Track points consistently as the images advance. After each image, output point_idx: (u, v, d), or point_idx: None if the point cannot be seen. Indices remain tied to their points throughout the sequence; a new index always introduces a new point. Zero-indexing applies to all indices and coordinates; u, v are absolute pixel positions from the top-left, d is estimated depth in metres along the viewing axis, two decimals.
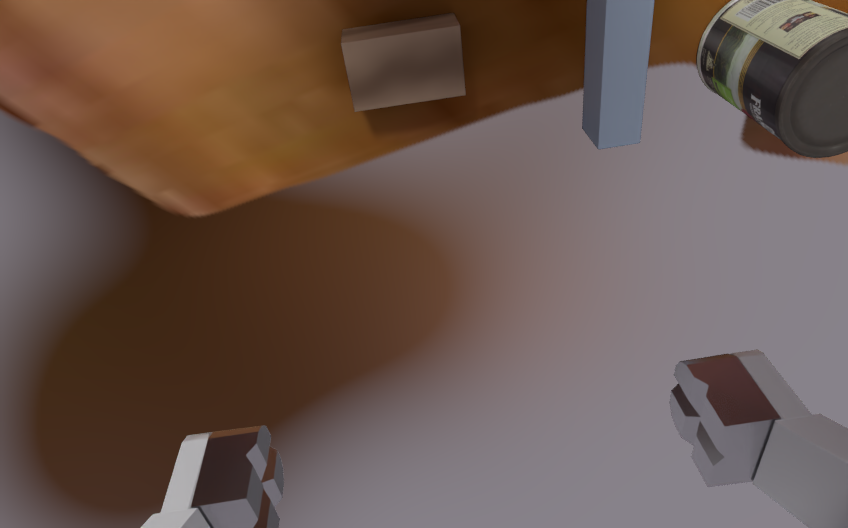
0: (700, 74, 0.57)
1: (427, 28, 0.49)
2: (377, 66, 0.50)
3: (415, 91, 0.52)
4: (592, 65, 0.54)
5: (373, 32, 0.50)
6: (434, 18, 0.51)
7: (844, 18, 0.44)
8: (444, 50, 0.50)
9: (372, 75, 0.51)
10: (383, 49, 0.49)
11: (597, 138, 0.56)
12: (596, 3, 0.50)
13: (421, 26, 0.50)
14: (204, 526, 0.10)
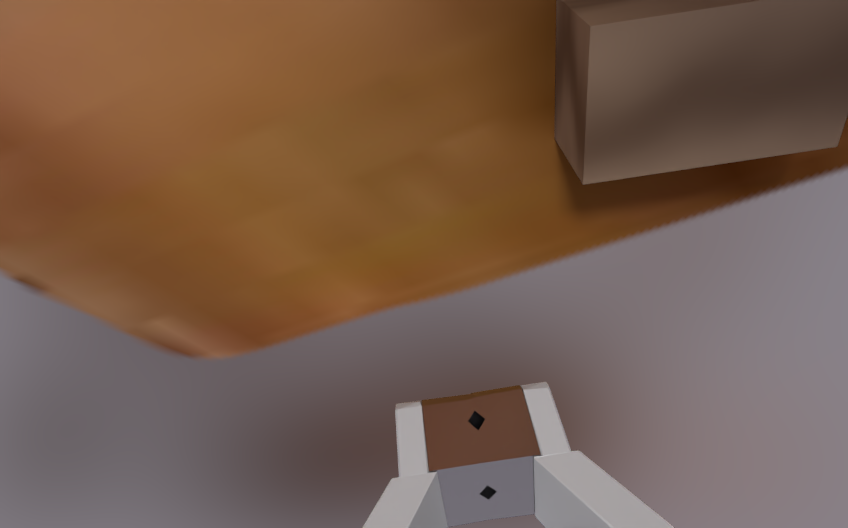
0: None
1: None
2: (662, 81, 0.21)
3: (729, 139, 0.22)
4: None
5: (652, 0, 0.21)
6: None
7: None
8: (830, 43, 0.20)
9: (643, 103, 0.21)
10: (689, 41, 0.20)
11: None
12: None
13: None
14: (439, 491, 0.10)
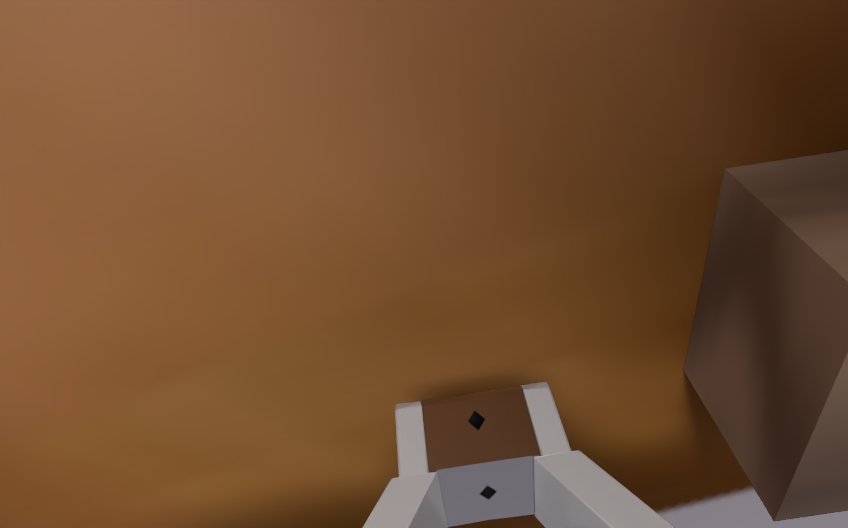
0: None
1: None
2: None
3: None
4: None
5: None
6: None
7: None
8: None
9: None
10: None
11: None
12: None
13: None
14: (438, 491, 0.10)
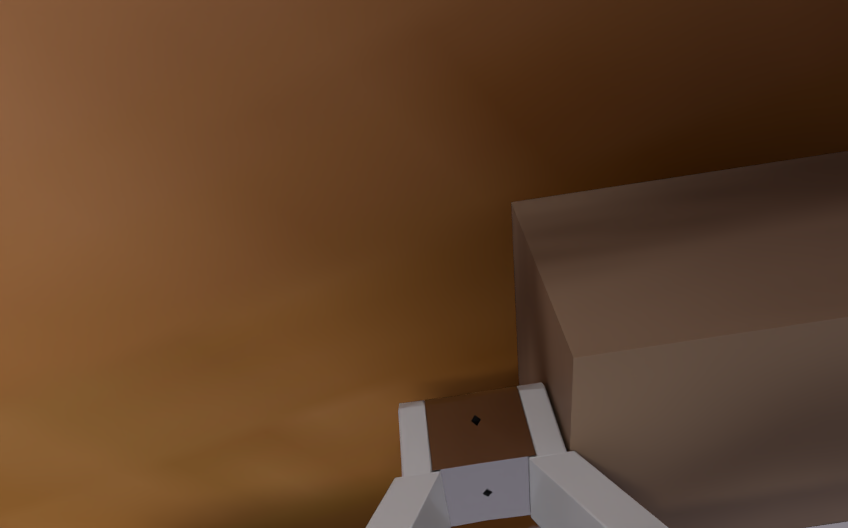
0: None
1: None
2: (729, 430, 0.10)
3: None
4: None
5: (706, 257, 0.10)
6: None
7: None
8: None
9: (688, 461, 0.10)
10: (792, 370, 0.09)
11: None
12: None
13: None
14: (442, 490, 0.10)
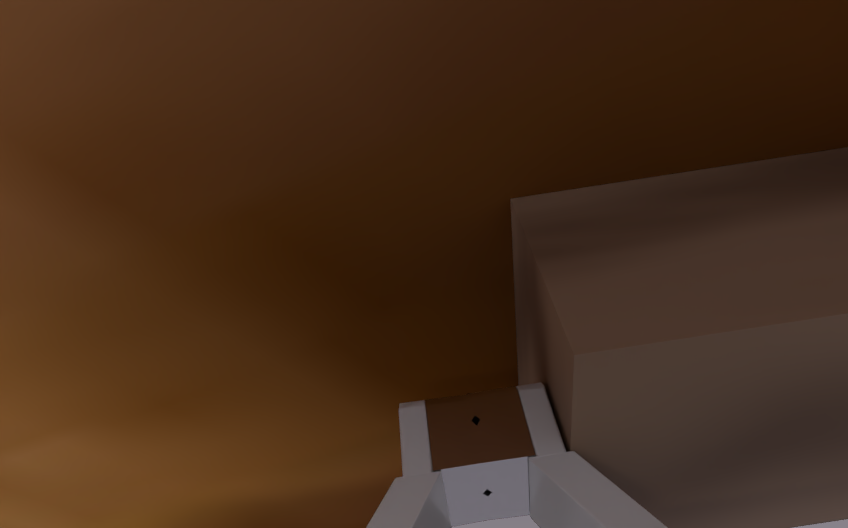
0: None
1: None
2: (729, 427, 0.10)
3: None
4: None
5: (706, 253, 0.10)
6: None
7: None
8: None
9: (688, 458, 0.10)
10: (794, 366, 0.09)
11: None
12: None
13: None
14: (442, 490, 0.10)
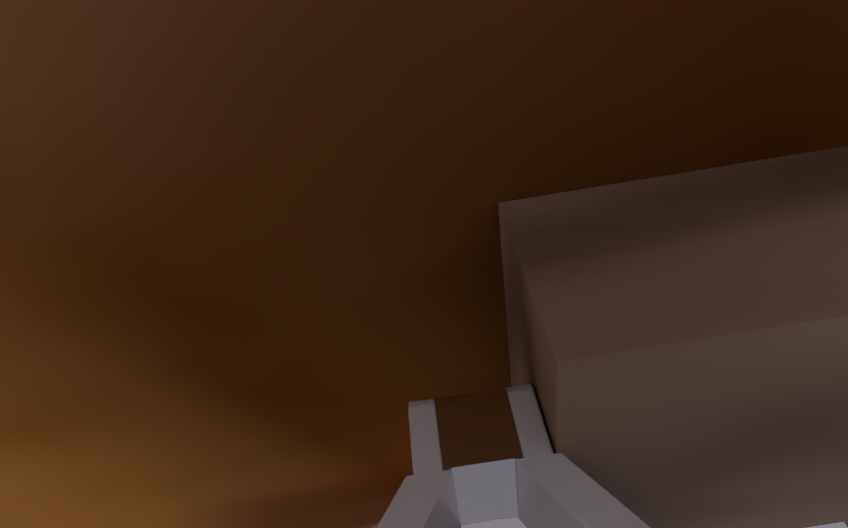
0: None
1: None
2: (716, 432, 0.10)
3: (844, 494, 0.11)
4: None
5: (692, 258, 0.10)
6: None
7: None
8: None
9: (676, 463, 0.10)
10: (779, 371, 0.09)
11: None
12: None
13: None
14: (452, 489, 0.10)
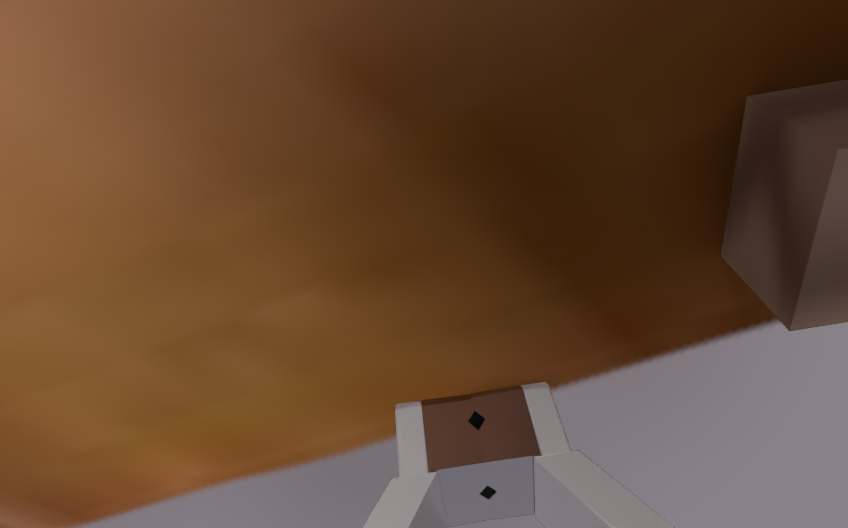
0: None
1: None
2: None
3: None
4: None
5: None
6: None
7: None
8: None
9: None
10: None
11: None
12: None
13: None
14: (439, 491, 0.10)
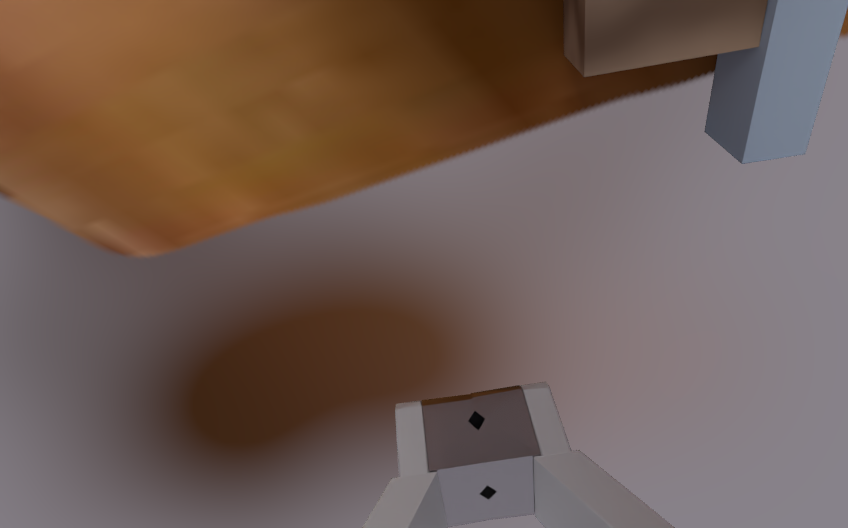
0: None
1: None
2: (635, 0, 0.31)
3: (683, 41, 0.33)
4: None
5: None
6: None
7: None
8: None
9: (623, 16, 0.32)
10: None
11: (741, 147, 0.37)
12: None
13: None
14: (438, 491, 0.10)
